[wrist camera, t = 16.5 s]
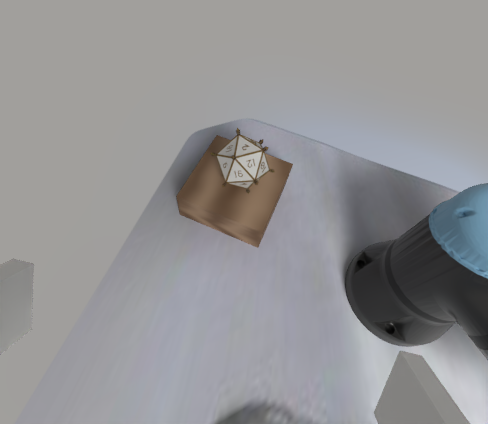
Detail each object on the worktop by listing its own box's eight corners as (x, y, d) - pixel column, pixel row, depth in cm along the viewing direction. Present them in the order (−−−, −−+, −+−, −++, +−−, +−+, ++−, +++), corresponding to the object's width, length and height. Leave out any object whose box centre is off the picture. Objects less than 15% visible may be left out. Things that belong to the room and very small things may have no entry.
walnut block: (285, 184, 54) (292, 164, 49) (257, 248, 47) (263, 232, 42) (216, 157, 56) (216, 134, 51) (180, 215, 49) (176, 196, 44)
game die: (230, 184, 50) (218, 125, 46) (279, 181, 48) (272, 118, 43) (213, 207, 42) (197, 139, 38) (271, 205, 40) (261, 131, 36)
